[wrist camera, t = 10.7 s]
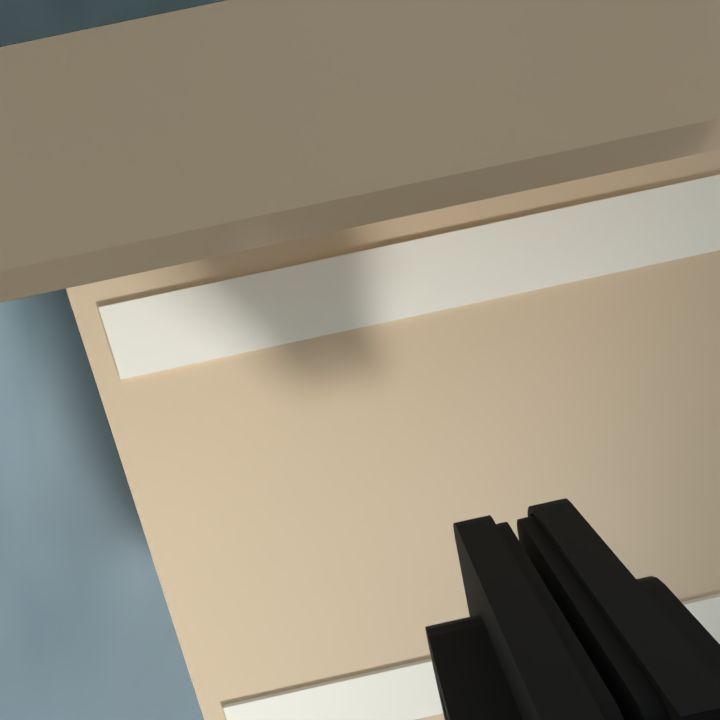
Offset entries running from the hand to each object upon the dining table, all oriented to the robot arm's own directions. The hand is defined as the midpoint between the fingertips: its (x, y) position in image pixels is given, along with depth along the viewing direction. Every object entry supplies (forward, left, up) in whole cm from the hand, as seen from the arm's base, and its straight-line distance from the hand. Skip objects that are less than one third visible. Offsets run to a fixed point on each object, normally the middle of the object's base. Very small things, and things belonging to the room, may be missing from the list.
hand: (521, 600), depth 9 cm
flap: (0, -7, -2) cm, 8 cm away
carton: (0, 0, -12) cm, 12 cm away
